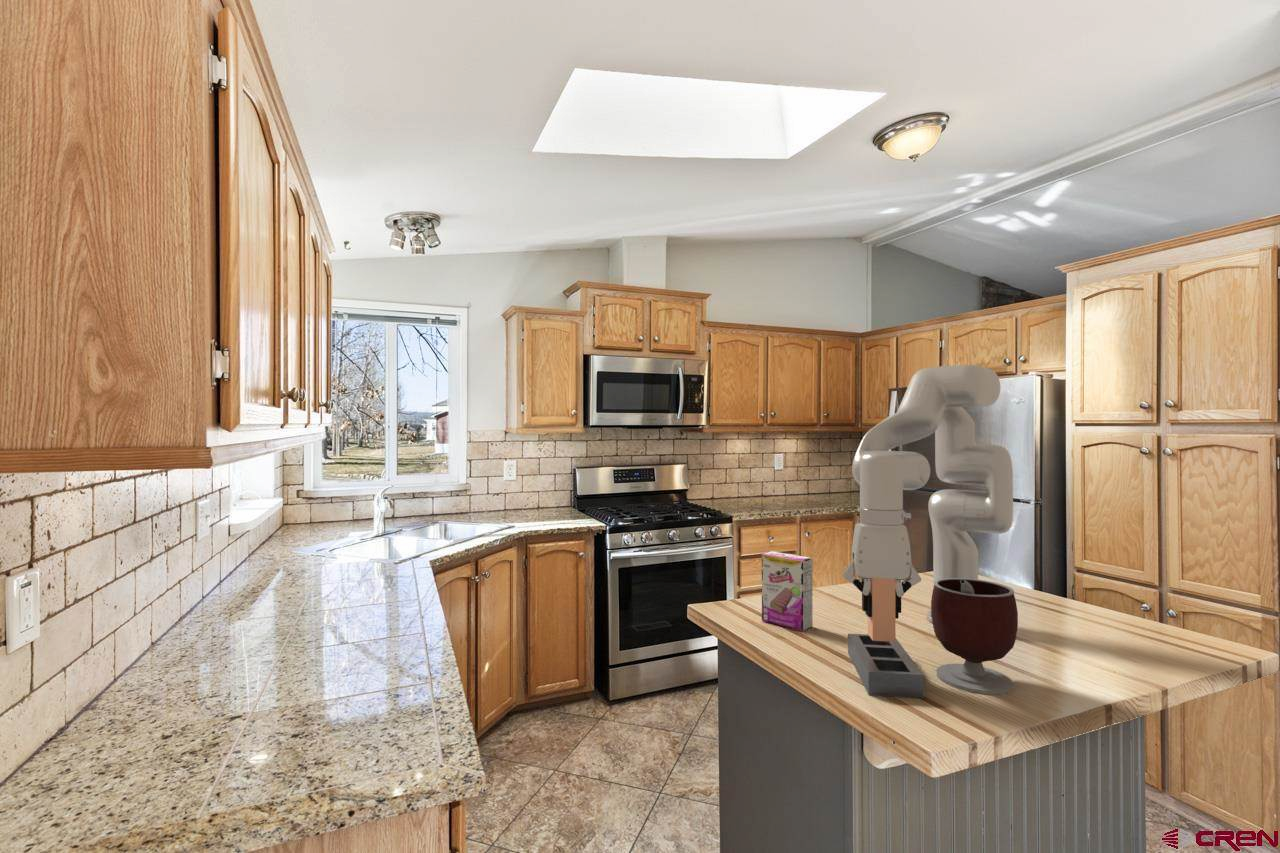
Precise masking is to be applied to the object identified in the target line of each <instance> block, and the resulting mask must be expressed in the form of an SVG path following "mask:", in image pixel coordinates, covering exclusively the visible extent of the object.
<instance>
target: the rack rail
mask: <svg viewBox="0 0 1280 853" xmlns="http://www.w3.org/2000/svg"><path fill="white" fill-rule="evenodd" d="M847 654H848V657H849V658H850V660H851V662H852V664H853V666H854V668H855V670H856V672H857V674H858V677H859V678H860V680H861V682H862V684H863V686H864V688H865V691H866V693H867V695H868V696H876V697H891V698H892V697H893V698H907V699H908V698H909V699H921V700H923V699H924V700H925V675H924V673H923V672H922V671H921V669H920V668H919V666H918V665H917V664H916V663H915V662H914V660H913V659H912V658H911V656H910V655H909V654H908V652H907V651H906V650H905V648H904V647H903V646H902V644H901V643H900V642H899V641H898V639H897V638H896V642H887V641H873V640H872V639H871V637H870V636H869V634H863V633H847Z"/></svg>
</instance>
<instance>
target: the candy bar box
mask: <svg viewBox="0 0 1280 853" xmlns="http://www.w3.org/2000/svg"><path fill="white" fill-rule="evenodd" d="M761 621H762V622H765V623H768V622H769V623H768V624H772V623H773V625H776V624H778V625H777V626H780V625H782V626H781V627H784V626H786V627H785V628H788V627H789V629H792V628H793V630H796V629H797V630H796V631H800V630H801V631H800V632H805V631H807V630H808V629H810V628H812V627H813V558H812V557H808V556H804V555H797V554H793V553H787V552H780V551H773V550H772V551H766V552H764V553H762V554H761ZM806 629H807V630H806ZM804 630H805V631H804Z"/></svg>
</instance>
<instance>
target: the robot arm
mask: <svg viewBox="0 0 1280 853" xmlns="http://www.w3.org/2000/svg"><path fill="white" fill-rule="evenodd" d="M1000 394H1001V381H1000V378H999V376H998V374H997V373H996V372H995V371H994V370H993V369H991V368H990V367H984V366H980V365H975V364H955V365H943V366H942V365H941V366H930V367H925V368H922V369H919V370H917V371H916V372H915V373H914V374H913V375H912V377H911V378H910V381H909V383H908V385H907V388H906V390H905V392H904V396H903V397H902V400H901V402H900V404H899V406H898V409H897V411H896V412H895V413H893V414H891V415H889V416H888V417H886V418H884V419H883V420H882V421H880V422H878V424H876V425H874V426H873V427H872V428H870V429H869V430H868V431H866V433H865V435H864V436H863V437H862V439H861V441H860V442H859V444H858V447H857V450H856V451H855V455H854V457H853V460H852V465H851V466H852V467H851V468H852V469H851V471H852V476H853V478H854V480H855V482H856V483H857V484H858V485H859V523H855V525H854V530H853V536H852V544H851V561H850V562H849V564H848V565H847V567H846V569H845V570H844V571H843V573H842V577H843V578H844V580H846V581H847V582H849V583H851V584H852V585H854V586H855V588H857V589H858V591H860V592H861V609H862V611H863V612H864V613H865V616H867V618H868V617H871V616H872V596H871V595H870V587H871V582H872V578H873V577H875V578H895V619H899V614H901V613H902V598H903V596H904V595H905V594H906V592H908V590H910V589H911V588H912V587H913V586H916V585H917V584H919V583H920V582H922V577H921V576H920V575H919V573H918V572H917V570H916V569H915V567H914V566H913V563H912V553H911V551H912V550H911V545H910V537H909V532H908V528H907V526H906V525H904V524H905V521H907V520H908V521H909V520H911V519H912V513H911V512H907V511H905V510H904V506H903V505H904V503H903V502H904V501H903V500H904V495H903V494H904V490H905V491H914V490H915V491H916V490H918V489H921V488H922V487H924V486H925V485H927V482H928V481H929V480H930V476H931V466H930V463H929V460H928V459H927V458H926V457H925V455H923V454H921V453H919V452H916V451H908V450H901V451H899V450H897V451H896V450H892V449H894V448H896V447H900V446H903V445H906V444H911V443H913V442H914V443H915V442H916V441H919V440H922V439H925V438H927V437H929V436H931V435H932V434H934V436H935V437H934V443H935V444H934V449H935V450H934V452H935V456H934V457H935V473H936V476H937V478H938V479H939V480H940V481H941V482H944V483H948V484H954V485H971V486H985V487H986V488H987V491H981V490H969V489H954V488H953V489H948V488H947V489H946V488H945V489H941V490H937V491H935V492H933V493H932V494H931V496H930V497H929V500H928V504H927V505H928V514H929V519H930V524H931V531H932V544H933V545H932V548H933V549H932V550H933V551H932V552H933V553H932V554H933V556H932V559H933V561H932V562H933V563H932V566H933V567H932V568H933V570H932V571H933V572H932V573H933V575H932V576H933V578H932V579H933V583H934V582H935V581H936V580H939V579H945V578H966V579H977V580H979V550H978V548H977V547H978V546H977V545H976V543H975V541H974V540H973V539H972V538H971V535H969V533H968V532H974V533H975V532H976V533H984V534H985V533H986V534H995V535H996V534H997V535H998V534H999V535H1000V534H1005V533H1007V532H1009V531H1010V529H1011V527H1013V526H1012V525H1013V521H1014V519H1013V518H1014V480H1013V476H1014V474H1013V473H1014V472H1013V471H1014V470H1013V461H1012V457H1011V454H1010V452H1009V451H1008V449H1007V448H1005V447H1004V446H1002V445H998V444H977V443H976V424H975V421H974V419H973V418H972V417H971V415H970V414H969V412H967V411H966V410H965V408H967V407H968V408H971V407H974V408H975V407H989V406H990V407H991V406H992V405H993V404H995V403H996V402H997V401H998V399H999V397H1000ZM854 574H855V575H856V576H857V577H858V578H860V579H861V580H859V579H858V578H857V577H856V576H854ZM926 619H927V620H928V621H929V622H931V623H932V617H931V610H930V611H927V612H926Z"/></svg>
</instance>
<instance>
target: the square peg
mask: <svg viewBox="0 0 1280 853" xmlns="http://www.w3.org/2000/svg"><path fill="white" fill-rule="evenodd" d="M870 595H871V596H872V616H871V617H868V616H867V635H869V636H870V637H871V639H872V640H873V641H887V642H896V639H897V638H896V634H897V633H896V618H895V578H875V577H873V578H872V582H871V587H870Z"/></svg>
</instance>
